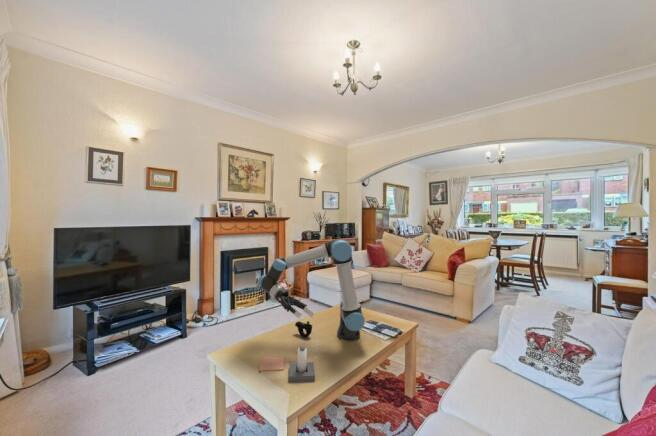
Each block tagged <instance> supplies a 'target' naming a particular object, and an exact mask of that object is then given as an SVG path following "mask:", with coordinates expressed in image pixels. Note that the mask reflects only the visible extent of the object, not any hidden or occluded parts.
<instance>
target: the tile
mask: <svg viewBox="0 0 656 436" xmlns="http://www.w3.org/2000/svg"><path fill="white" fill-rule="evenodd" d="M285 359H286V358H285V356H272V357H271V356H270V357H268V356H267V357H266V356H264V357H263V356H262V357H261V361H260V363H259V364H260V365H259V369H258V372H259V373H262V372H272V371H273V372H275V371H276V372H277V371H284V369H285Z"/></svg>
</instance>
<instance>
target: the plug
mask: <svg viewBox="0 0 656 436" xmlns="http://www.w3.org/2000/svg"><path fill="white" fill-rule="evenodd" d="M307 357H308V349H307V348H306V346H305V345H304V344H303V345H301V344H300V346H299V348H298V349H297V362H296V363H297V372H306V364H307V362H308V361H307V360H308V359H307Z"/></svg>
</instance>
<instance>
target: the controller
mask: <svg viewBox="0 0 656 436" xmlns="http://www.w3.org/2000/svg"><path fill="white" fill-rule="evenodd" d="M310 322H311V321H309V320H308V321H306V322H301V321H296V322H295V324H294V326H295V327H296V328H297V331H298V333H299V335H300V336H301V337H302V338H307V337H309V336H310V335H311V334H312V331H313V324H311V323H310Z"/></svg>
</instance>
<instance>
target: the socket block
mask: <svg viewBox="0 0 656 436" xmlns="http://www.w3.org/2000/svg"><path fill="white" fill-rule="evenodd" d="M314 364H315V363H314V361H307V364H306V372H297V362H289V370H288V371H289V374H288V377H289V378H288V383H298V382H299V383H300V382H303V383H304V382H315V381H316V375H315V365H314Z"/></svg>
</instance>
